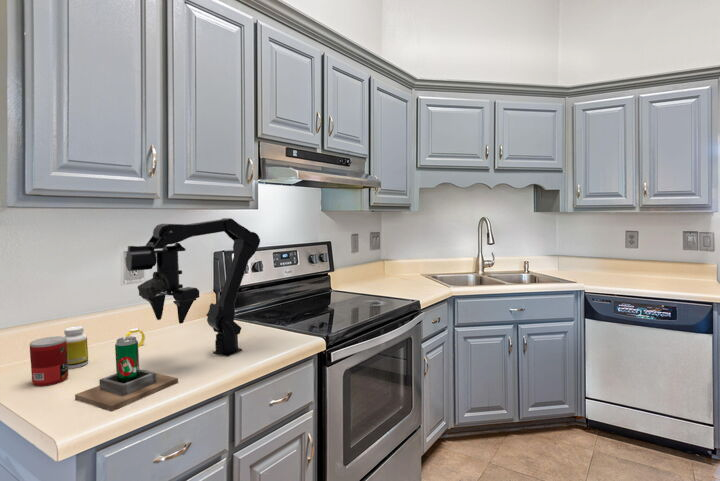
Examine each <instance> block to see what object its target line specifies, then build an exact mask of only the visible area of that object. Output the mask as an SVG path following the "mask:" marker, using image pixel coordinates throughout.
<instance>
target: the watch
mask: <svg viewBox="0 0 720 481" xmlns="http://www.w3.org/2000/svg"><path fill="white" fill-rule="evenodd" d="M133 333H140V334H141V340H140V342H138V347H141V346H142V345H143V344H144V342H145V340H146V337H145V336H146V335H145V334H144V331H142V330H140V329H139V328H137V327H136V328H131V329H129V331H128V332H127V333H126V335H125V337H130V335H131V334H133Z"/></svg>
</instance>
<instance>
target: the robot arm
mask: <svg viewBox="0 0 720 481" xmlns="http://www.w3.org/2000/svg"><path fill="white" fill-rule="evenodd" d="M222 232H224V233H225V234H226V235H227V237H228V238H229V239H231V240H232V241H233V244H232V245H233V246H232V251H233V252H232V253H233V258H232V261H231V265H230V267H229V271H228V273H227V275H226V278H225V282H224V284H223V287H222V291H221V292H220V296H219V299H218V301H216V303H213V302H212V303H210V304H209V307H208V311H207V313H206V317H207V318H206V321H207V324H208V325H209V327H211V328H212V330H213V332H215V333H217V334H215V340H214V341H215V350H214V351H212V354H213V355H219V356H225V357H229V356H232V355H234V354H237V353H238V352H241V351H243V350H242V348H239V341H238V340H239V338H238V337H239V335H240V334H241V331H242V327H241V326H240V325H239V324H238V323H236V322H235V315H236V310H235V309H236V308H235V303H236V299H237V298H238V297H237V296H238V293H239V290H240V287H241V284H242V281H243V278H244V275H245V271H246V269H247V266H248V263H249V261H250V260H251V258H252V257H253V256H254V255H255V254H256V252H257V250H258V248H259V246H260V244H261V238H260V237H259V235H258V234H257V233H256V232H255V231H250V230H249V229H248V228H246V227H245V226H243V225H241V224H240V223H238V222H237V221H235V219H233V218H229V217H227V218H221V219H215V220H208V221H201V222H195V223H193V222H192V223H186V224H185V223H181V224H180V223H159V224H157V225H156V226H155V227H154V229H153V231H152V235H151V237H150V238H149V240H148V242H147V243H146V244H145V245H138V246H137V245H128V246H127V251H126V255H125V257H124V258H125V267H126V269H127V271H128V272H136V271H145V270H146V271H147V270H152V269H153V267H155V266H156V271H153V273H152V278H150V279H148V280H146V281H144V282H142V283H141V284H139V285H137V289H138V290H137V291H138V296H140V297H141V298H142V299H143V300H145V301H147V302H148V303H149V305H150V307H151V309H152V310H153V314H154V315H155V318H156V320H157V321H161V319H162V318H163V317H162V316H163V313H164V306H165V300H166V296H171V297H172V298H173V299H174V300H173V301H172V302H173V304H174V305H175V306H176V309H177V318H178V323H179V325H181V324H183V323H184V322H185V320H186V317H187V315H188V312H189V310H190V308H191V306H192V305H193V303H194V302H195V301H197V299H198V298H200V290H199V288H197V287H192V286H191V287H190V286H187V287H186V286H185V287H183V286H184V285H183V284H180V275H182V274H183V270H181V269H179V268H180V266H179V265H180V264H179V252H185V251H186V250H187V248H185V247H184V246H182V244H181V243H180V242H183V241H186V240H187V239H189V238H192V237H198V236H205V235H211V234H216V233H222Z"/></svg>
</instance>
